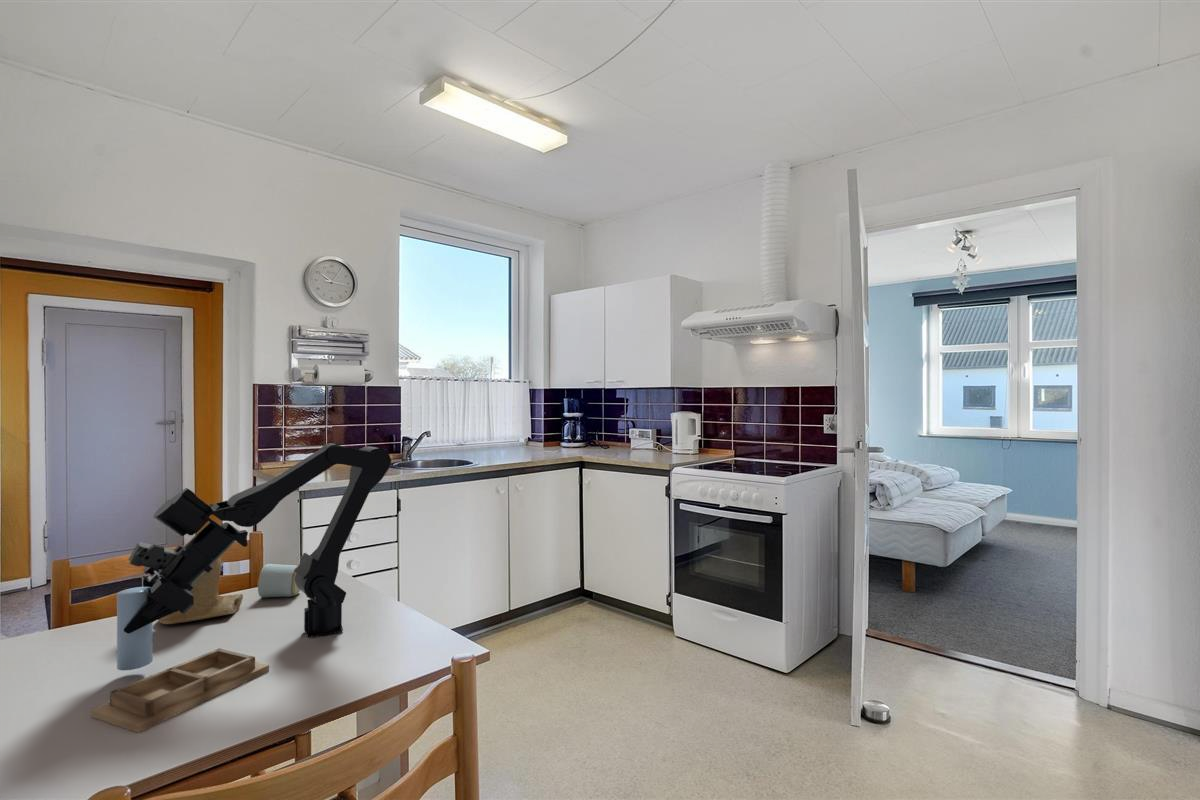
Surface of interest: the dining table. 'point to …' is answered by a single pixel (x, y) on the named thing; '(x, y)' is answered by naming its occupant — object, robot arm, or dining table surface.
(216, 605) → the stone cup
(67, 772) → the dining table surface
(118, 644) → the blue-grey round cylinder
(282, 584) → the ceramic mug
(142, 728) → the wooden compartment tray
